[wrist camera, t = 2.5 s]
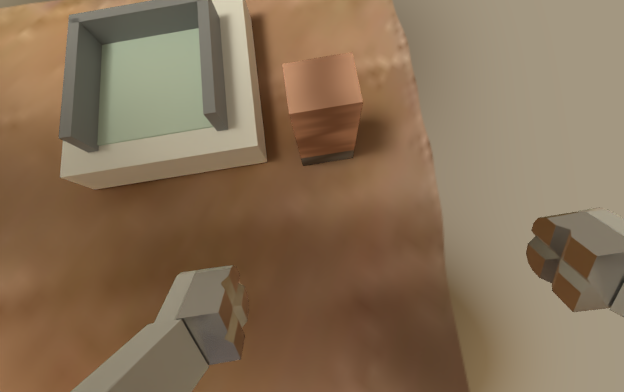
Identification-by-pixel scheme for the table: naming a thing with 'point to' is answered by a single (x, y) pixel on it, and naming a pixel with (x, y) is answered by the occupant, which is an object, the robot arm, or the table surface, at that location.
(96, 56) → the bay dock
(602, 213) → the robot arm
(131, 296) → the table surface
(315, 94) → the block
